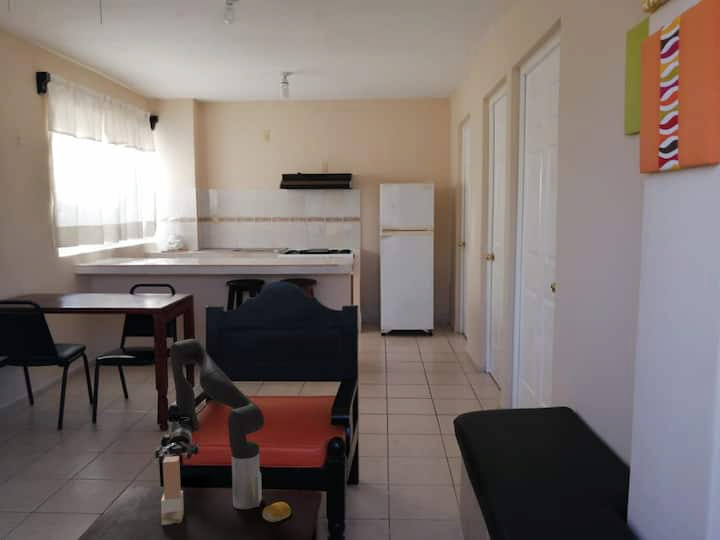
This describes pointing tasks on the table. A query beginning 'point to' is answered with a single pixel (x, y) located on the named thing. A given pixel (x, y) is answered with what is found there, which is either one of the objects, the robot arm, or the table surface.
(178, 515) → the tower base
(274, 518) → the bread roll
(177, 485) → the pillar
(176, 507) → the white short block
